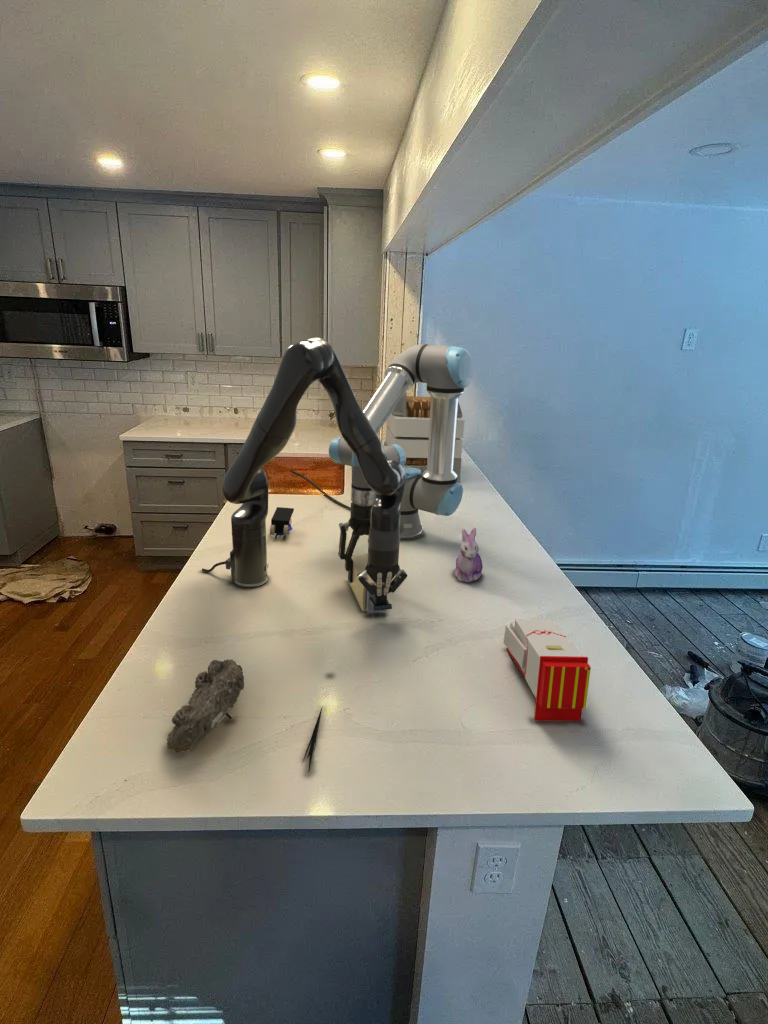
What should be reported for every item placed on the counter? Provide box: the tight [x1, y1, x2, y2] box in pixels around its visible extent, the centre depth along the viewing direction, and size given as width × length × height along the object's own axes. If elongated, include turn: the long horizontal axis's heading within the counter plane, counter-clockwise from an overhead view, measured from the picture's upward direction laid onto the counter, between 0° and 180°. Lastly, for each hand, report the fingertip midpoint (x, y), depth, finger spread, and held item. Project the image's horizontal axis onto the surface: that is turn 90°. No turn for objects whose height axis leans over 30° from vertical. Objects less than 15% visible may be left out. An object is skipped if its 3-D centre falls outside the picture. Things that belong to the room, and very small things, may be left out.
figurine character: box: [269, 506, 295, 540], centre depth 194 cm, size 7×8×15 cm
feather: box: [301, 673, 332, 771], centre depth 108 cm, size 2×28×2 cm
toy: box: [503, 618, 592, 722], centre depth 122 cm, size 12×13×30 cm
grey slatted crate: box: [383, 390, 465, 483], centre depth 268 cm, size 34×33×41 cm
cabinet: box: [348, 553, 374, 612], centre depth 155 cm, size 17×6×8 cm, turn 16°
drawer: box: [365, 585, 393, 614], centre depth 150 cm, size 22×5×6 cm, turn 16°
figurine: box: [454, 527, 484, 583], centre depth 168 cm, size 9×10×15 cm
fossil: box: [166, 658, 245, 754], centre depth 106 cm, size 22×10×15 cm
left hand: (380, 607), depth 142 cm, fingers closed
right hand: (362, 579), depth 160 cm, fingers closed on cabinet, 6 cm apart
